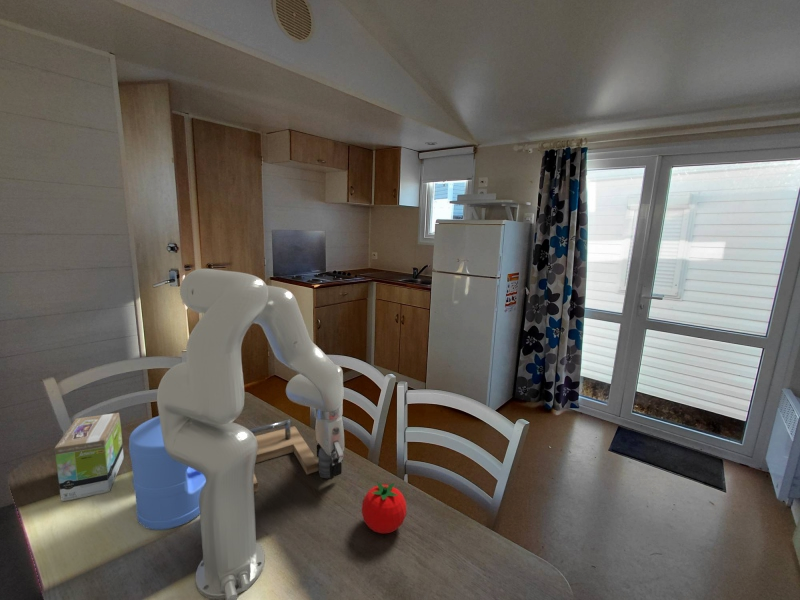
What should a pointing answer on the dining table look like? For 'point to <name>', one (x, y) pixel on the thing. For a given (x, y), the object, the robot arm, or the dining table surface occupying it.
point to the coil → (325, 463)
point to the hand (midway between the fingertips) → (328, 465)
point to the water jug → (161, 481)
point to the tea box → (89, 456)
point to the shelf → (285, 450)
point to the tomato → (384, 508)
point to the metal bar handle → (275, 425)
